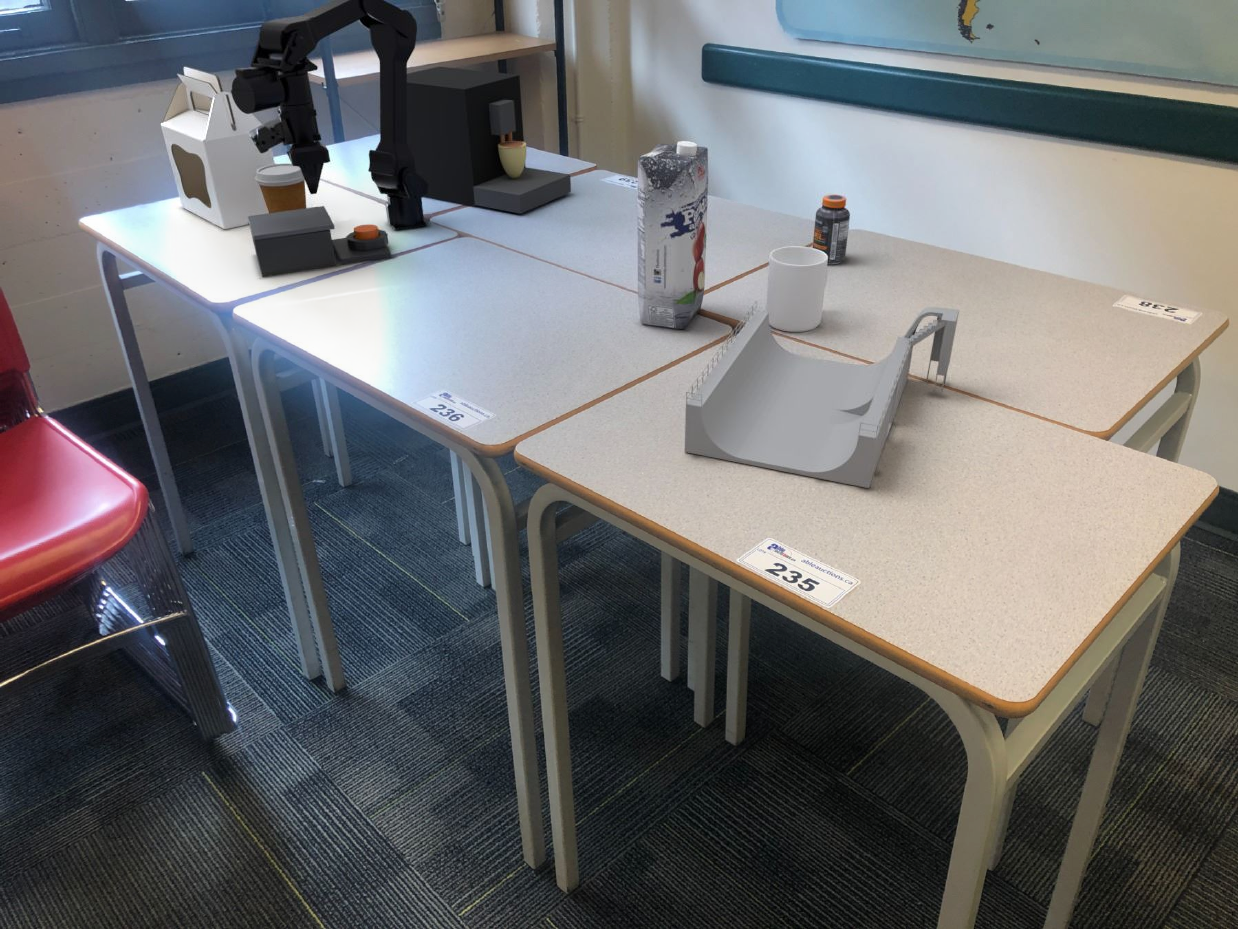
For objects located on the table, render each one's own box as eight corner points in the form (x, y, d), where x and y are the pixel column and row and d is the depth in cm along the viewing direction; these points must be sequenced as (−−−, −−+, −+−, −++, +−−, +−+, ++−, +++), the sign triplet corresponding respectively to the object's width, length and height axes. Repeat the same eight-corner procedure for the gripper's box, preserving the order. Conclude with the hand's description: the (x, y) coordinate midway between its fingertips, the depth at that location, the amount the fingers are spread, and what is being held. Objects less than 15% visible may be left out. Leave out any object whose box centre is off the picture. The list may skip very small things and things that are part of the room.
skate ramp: (752, 353, 139) (757, 283, 133) (945, 383, 129) (959, 309, 124) (684, 452, 115) (686, 372, 109) (914, 498, 106) (929, 413, 100)
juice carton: (632, 326, 147) (631, 147, 133) (655, 301, 156) (656, 131, 142) (687, 334, 145) (692, 152, 130) (707, 308, 153) (714, 135, 139)
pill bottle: (805, 256, 173) (811, 193, 167) (834, 252, 175) (841, 190, 169) (821, 266, 168) (827, 203, 162) (851, 262, 170) (858, 199, 164)
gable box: (181, 207, 205) (145, 68, 190) (240, 194, 212) (209, 60, 198) (225, 230, 191) (189, 82, 176) (286, 215, 199) (257, 72, 184)
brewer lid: (324, 209, 179) (323, 205, 178) (334, 228, 169) (333, 224, 168) (248, 220, 174) (247, 215, 174) (254, 240, 164) (253, 235, 164)
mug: (845, 316, 149) (853, 250, 144) (796, 338, 143) (803, 269, 137) (802, 301, 155) (808, 237, 149) (753, 321, 148) (757, 255, 143)
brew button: (376, 232, 180) (375, 223, 179) (381, 238, 177) (379, 229, 176) (353, 235, 179) (351, 226, 178) (357, 242, 175) (355, 233, 175)
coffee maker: (520, 216, 196) (512, 95, 183) (397, 191, 212) (381, 79, 200) (571, 194, 209) (566, 79, 196) (450, 173, 225) (439, 66, 213)
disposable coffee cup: (308, 237, 187) (296, 175, 180) (260, 237, 187) (246, 175, 181) (321, 222, 195) (311, 162, 188) (275, 222, 195) (263, 162, 189)
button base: (382, 238, 185) (380, 223, 184) (394, 257, 176) (392, 242, 174) (332, 245, 182) (329, 230, 181) (341, 265, 173) (339, 249, 171)
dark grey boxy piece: (326, 246, 182) (320, 211, 178) (336, 266, 172) (330, 230, 169) (256, 255, 178) (248, 220, 174) (262, 277, 168) (254, 240, 165)
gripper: (242, 96, 167) (262, 185, 175) (250, 118, 152) (271, 214, 161) (307, 90, 171) (323, 178, 179) (321, 111, 156) (338, 205, 164)
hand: (313, 193), depth 171 cm, fingers closed
